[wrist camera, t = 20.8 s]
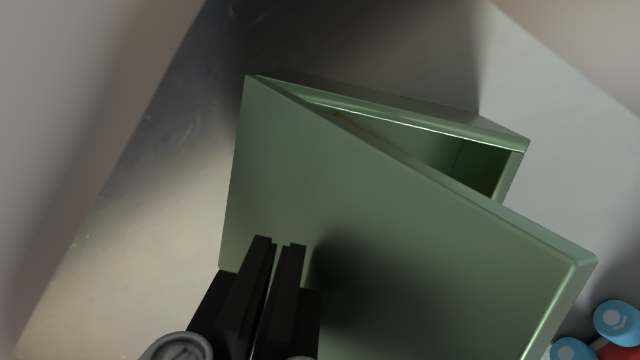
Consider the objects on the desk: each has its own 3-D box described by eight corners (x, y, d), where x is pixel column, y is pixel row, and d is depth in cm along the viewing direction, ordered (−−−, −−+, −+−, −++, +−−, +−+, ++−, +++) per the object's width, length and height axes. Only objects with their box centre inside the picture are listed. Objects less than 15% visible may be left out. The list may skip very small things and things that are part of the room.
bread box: (479, 114, 23) (531, 139, 17) (427, 249, 27) (454, 310, 20) (278, 67, 23) (255, 74, 16) (253, 209, 26) (227, 260, 20)
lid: (604, 256, 5) (579, 263, 5) (396, 600, 9) (372, 621, 8) (261, 76, 16) (244, 73, 16) (231, 264, 20) (217, 265, 19)
